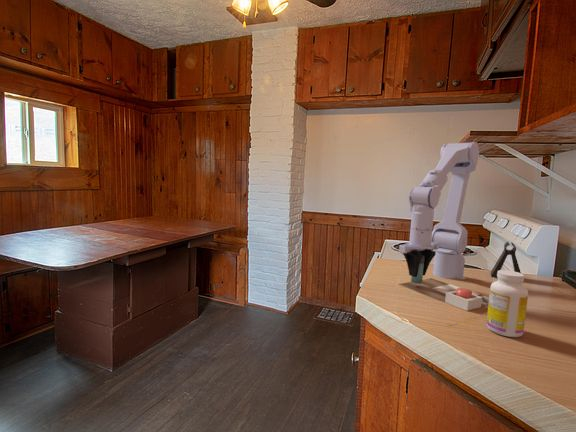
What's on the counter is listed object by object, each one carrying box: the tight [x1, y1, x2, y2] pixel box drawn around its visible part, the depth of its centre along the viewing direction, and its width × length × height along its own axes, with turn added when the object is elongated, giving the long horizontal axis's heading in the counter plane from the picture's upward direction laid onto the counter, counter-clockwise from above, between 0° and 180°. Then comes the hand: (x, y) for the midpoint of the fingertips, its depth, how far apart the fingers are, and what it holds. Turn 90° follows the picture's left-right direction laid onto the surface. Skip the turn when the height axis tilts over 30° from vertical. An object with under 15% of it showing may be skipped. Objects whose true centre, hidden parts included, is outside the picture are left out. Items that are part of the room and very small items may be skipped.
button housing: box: [444, 290, 482, 312], centre depth 81 cm, size 6×6×2 cm
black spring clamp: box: [490, 241, 522, 279], centre depth 110 cm, size 9×6×12 cm, turn 59°
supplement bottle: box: [486, 269, 529, 338], centre depth 68 cm, size 7×7×13 cm
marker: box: [410, 255, 425, 284], centre depth 93 cm, size 3×3×8 cm
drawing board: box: [397, 277, 489, 312], centre depth 89 cm, size 15×21×1 cm
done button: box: [456, 287, 473, 299], centre depth 80 cm, size 3×3×2 cm
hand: (417, 275), depth 93 cm, fingers closed on marker, 3 cm apart
